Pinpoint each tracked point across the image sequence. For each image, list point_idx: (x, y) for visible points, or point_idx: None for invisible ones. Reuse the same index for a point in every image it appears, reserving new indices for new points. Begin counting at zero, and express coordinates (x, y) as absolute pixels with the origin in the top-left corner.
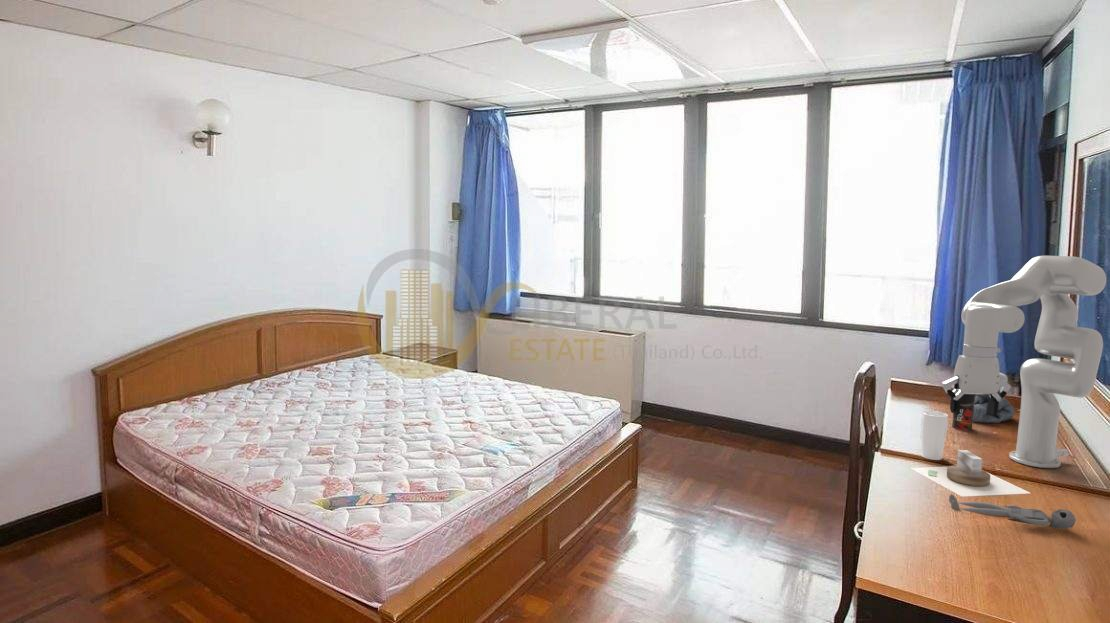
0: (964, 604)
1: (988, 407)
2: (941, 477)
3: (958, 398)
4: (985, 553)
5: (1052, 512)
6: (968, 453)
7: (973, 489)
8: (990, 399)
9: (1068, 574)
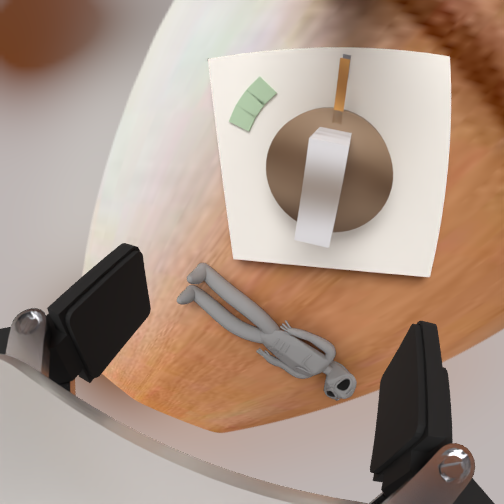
0: (127, 392)
1: (411, 367)
2: (260, 137)
3: (69, 384)
4: (176, 368)
5: (326, 381)
6: (322, 184)
7: (294, 229)
8: (413, 447)
9: (238, 412)
